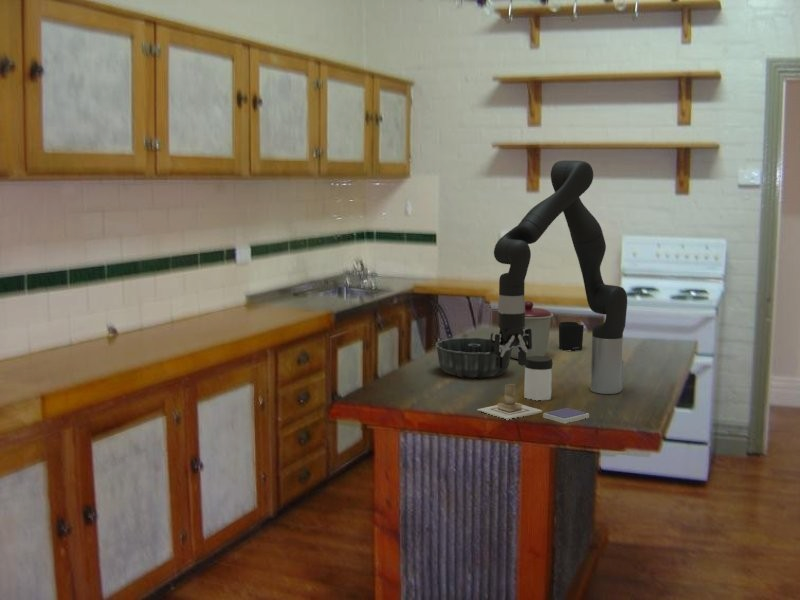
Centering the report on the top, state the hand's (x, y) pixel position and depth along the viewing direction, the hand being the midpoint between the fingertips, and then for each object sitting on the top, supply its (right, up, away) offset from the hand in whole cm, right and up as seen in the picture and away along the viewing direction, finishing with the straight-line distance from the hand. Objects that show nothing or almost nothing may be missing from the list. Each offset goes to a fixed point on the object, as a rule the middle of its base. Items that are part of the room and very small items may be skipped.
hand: (510, 367), depth 263 cm
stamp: (0, -12, +2) cm, 12 cm away
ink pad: (+15, -14, -4) cm, 21 cm away
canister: (+15, -3, +78) cm, 80 cm away
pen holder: (+34, 0, +96) cm, 102 cm away
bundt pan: (-6, -6, +52) cm, 53 cm away
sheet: (0, -13, +2) cm, 13 cm away
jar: (+10, -11, +19) cm, 24 cm away
